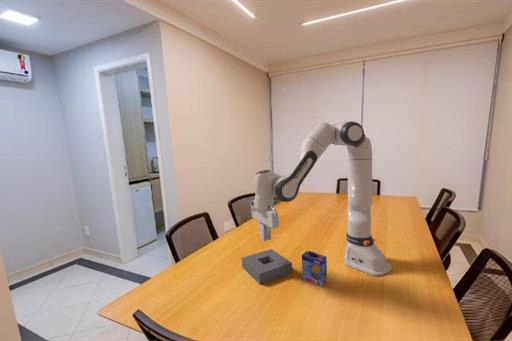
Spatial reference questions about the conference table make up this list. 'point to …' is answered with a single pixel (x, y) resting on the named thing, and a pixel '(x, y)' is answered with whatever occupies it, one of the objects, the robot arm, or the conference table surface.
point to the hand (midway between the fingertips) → (265, 231)
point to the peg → (264, 232)
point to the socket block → (266, 266)
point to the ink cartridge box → (314, 268)
